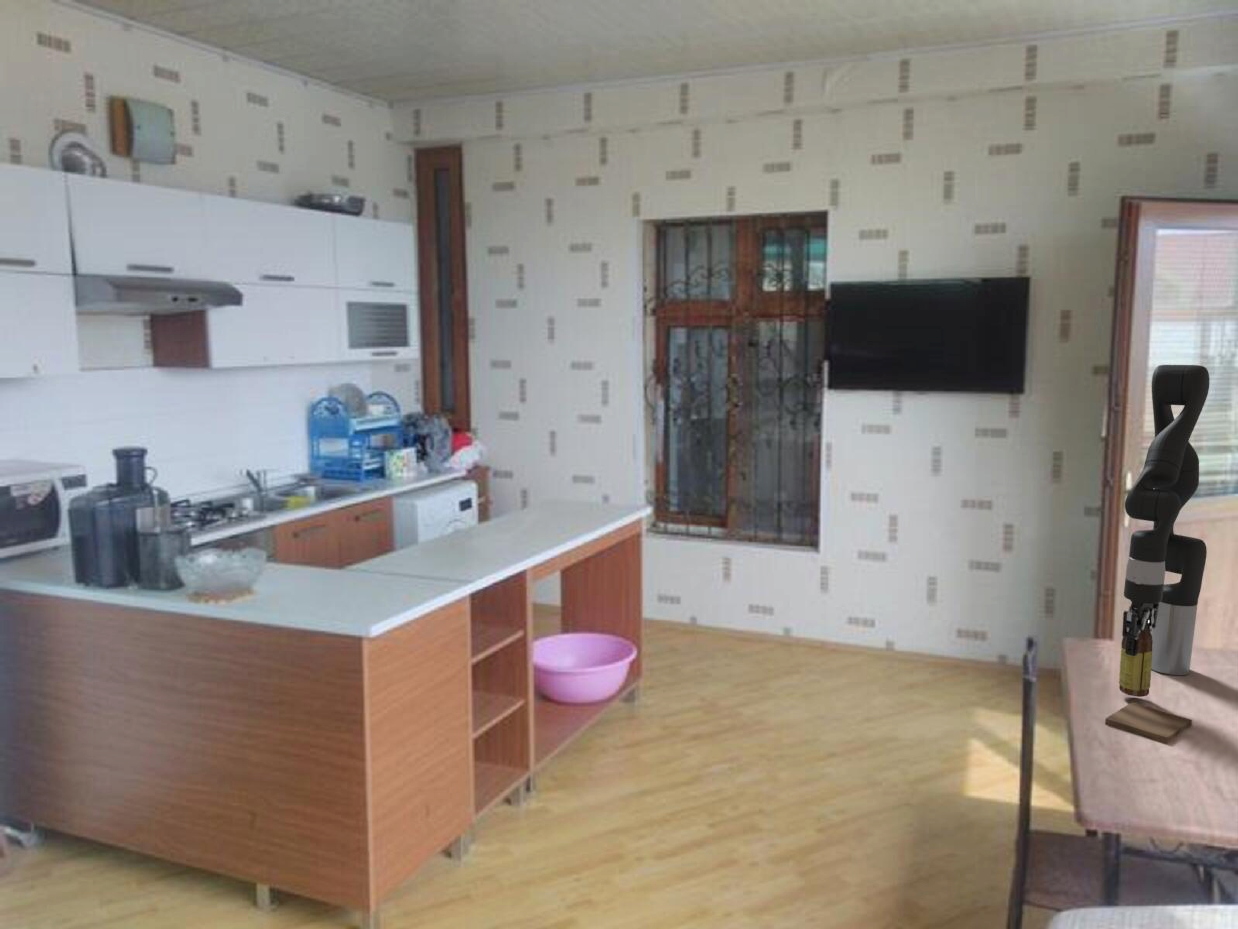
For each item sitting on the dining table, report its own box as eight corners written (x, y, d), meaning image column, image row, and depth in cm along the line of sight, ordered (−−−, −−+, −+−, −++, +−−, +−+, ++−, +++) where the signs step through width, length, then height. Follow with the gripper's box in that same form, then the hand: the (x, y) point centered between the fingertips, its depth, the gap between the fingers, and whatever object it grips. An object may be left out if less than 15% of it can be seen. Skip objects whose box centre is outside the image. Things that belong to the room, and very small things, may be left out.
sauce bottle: (1142, 688, 222) (1151, 603, 219) (1154, 699, 216) (1163, 612, 213) (1111, 686, 223) (1120, 602, 219) (1123, 697, 216) (1132, 610, 213)
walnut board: (1131, 707, 214) (1132, 702, 214) (1191, 725, 206) (1192, 720, 205) (1105, 724, 205) (1105, 718, 205) (1166, 743, 196) (1167, 737, 196)
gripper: (1139, 569, 222) (1131, 640, 225) (1113, 580, 213) (1106, 654, 216) (1175, 576, 217) (1167, 649, 220) (1150, 588, 207) (1142, 663, 210)
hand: (1136, 651), depth 218 cm, fingers closed on sauce bottle, 6 cm apart
